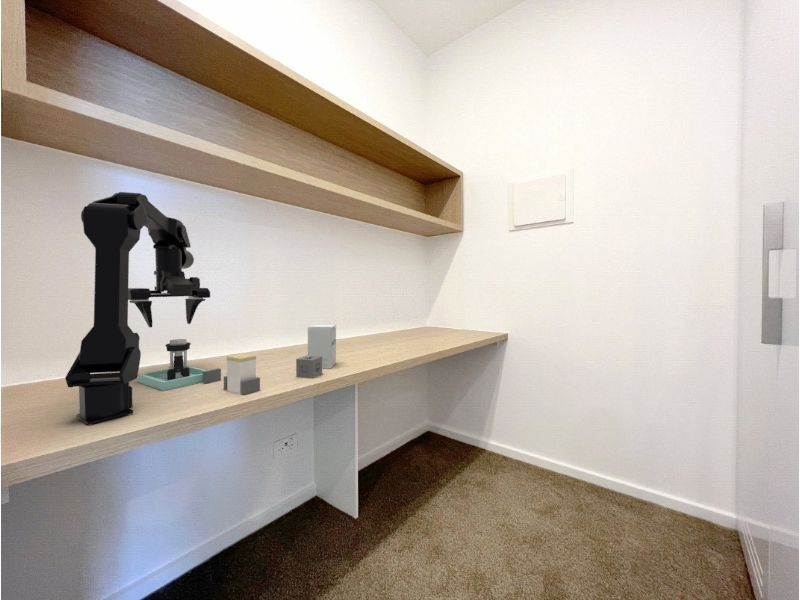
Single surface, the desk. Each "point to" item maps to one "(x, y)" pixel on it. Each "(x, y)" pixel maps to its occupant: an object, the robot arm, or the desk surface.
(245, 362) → the white lidded container
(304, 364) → the dark grey cube
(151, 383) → the tray
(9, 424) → the desk surface
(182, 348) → the push button
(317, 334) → the supplement box
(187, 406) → the desk surface
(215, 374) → the set of grey blocks
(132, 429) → the desk surface
